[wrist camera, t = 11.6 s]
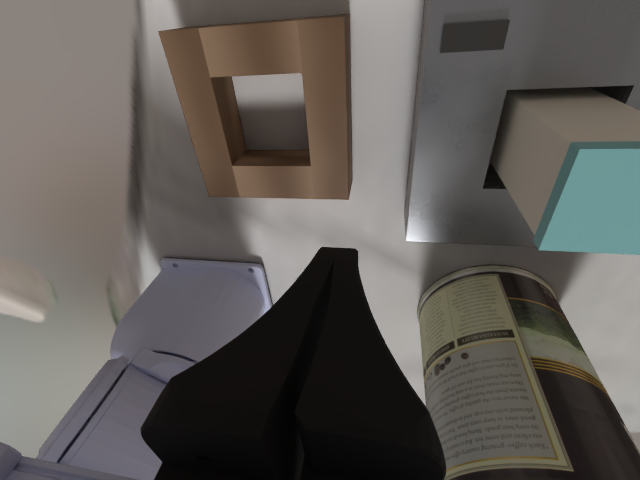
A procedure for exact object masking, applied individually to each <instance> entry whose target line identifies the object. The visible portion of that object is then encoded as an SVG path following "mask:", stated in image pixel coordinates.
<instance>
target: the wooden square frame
mask: <svg viewBox="0 0 640 480" xmlns="http://www.w3.org/2000/svg"><path fill="white" fill-rule="evenodd" d="M158 32H159V35H160V38H161V42H162V45H163V48H164V51H165V55H166V58H167V61H168V64H169V68H170V71H171V74H172V77H173V81H174V84H175V87H176V90H177V94H178V97H179V100H180V103H181V107H182V110H183V113H184V116H185V120H186V123H187V126H188V129H189V133H190V136H191V139H192V142H193V146H194V149H195V152H196V155H197V159H198V162H199V165H200V168H201V172H202V175H203V178H204V181H205V185H206V188H207V191H208V194H209V197H252V198H298V199H344V200H349V195H350V190H351V185H352V116H351V47H350V14H345V15H333V16H320V17H308V18H296V19H284V20H271V21H259V22H247V23H235V24H222V25H210V26H198V27H185V28H178V29H172V30H165V31H158ZM287 73H302V77H303V88H304V98H305V109H306V120H307V130H308V141H309V150H247V149H246V145H245V140H244V135H243V130H242V126H241V121H240V116H239V111H238V107H237V102H236V97H235V92H234V88H233V83H232V78H231V76H247V75H267V74H287Z"/></svg>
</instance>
